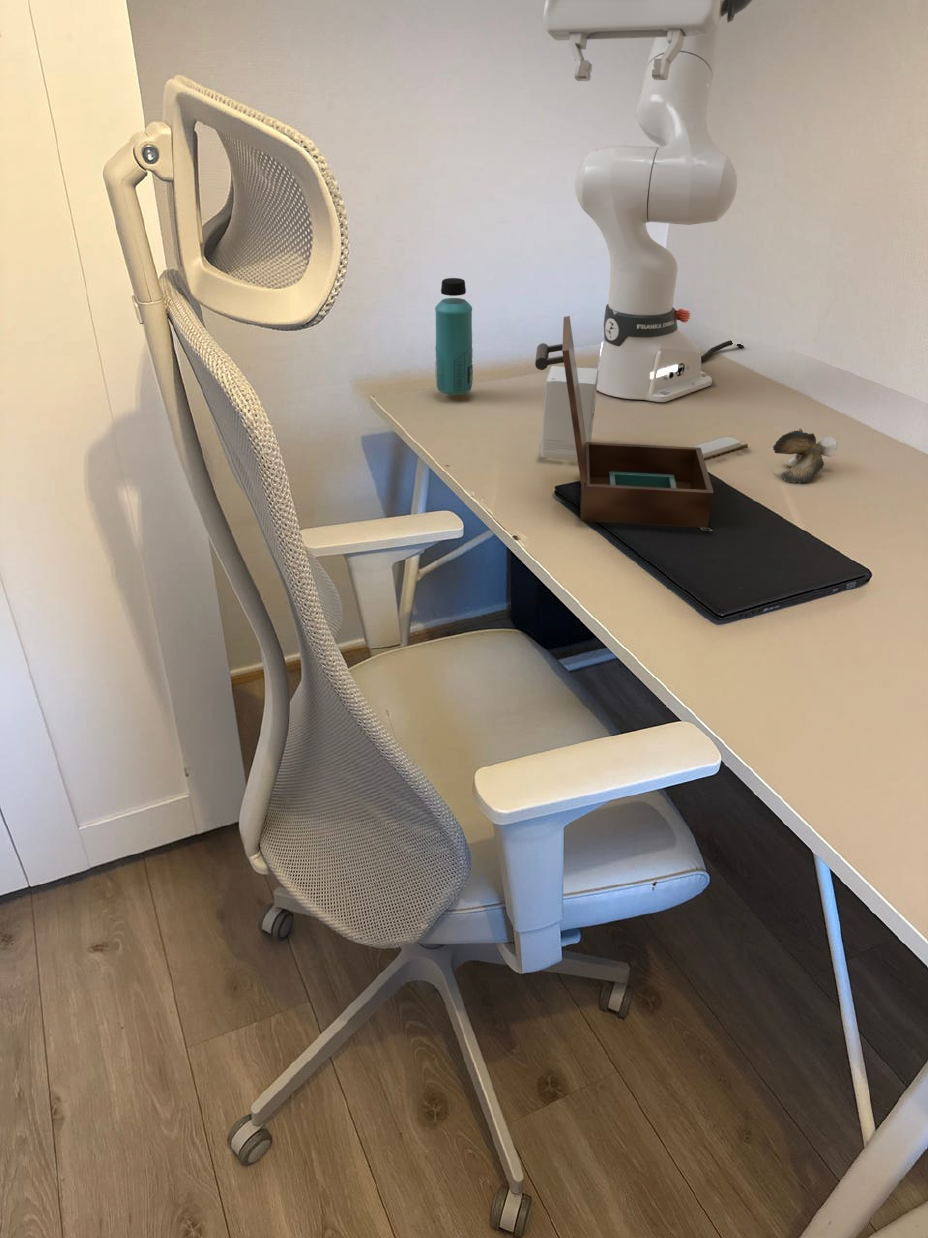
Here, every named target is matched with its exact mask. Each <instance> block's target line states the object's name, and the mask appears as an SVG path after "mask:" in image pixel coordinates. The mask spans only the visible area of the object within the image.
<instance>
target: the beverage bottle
mask: <svg viewBox="0 0 928 1238" xmlns="http://www.w3.org/2000/svg"><path fill="white" fill-rule="evenodd" d="M466 292H467V289H466V281H465V279H463V278H460V277H449V278H444V279H442V281H441V289H440V293H441V295H445V296H449V297H447V298H442V299H441V300H440V301H439V302H438V303H437V304H436V305H435V307H434V311H435V341H434V342H435V349H434V350H435V362H434V363H435V364H434V365H435V375H436V378H435V384H436V389H437V391H438V392H439V393H442V394H447V395H454V396H455V395H463V394H467V393H469V392H470V391H472V387H473V384H474V382H473V380H474V376H473V374H474V373H473V371H474V369H473V368H474V364H473V362H474V360H473V358H474V357H473V354H474V350H473V349H474V347H473V306H472V305H471V304H470V302H469V301H467V300H466V299H465V298H461V297H459V296H463V295H465V294H467V293H466ZM457 296H458V297H457Z"/></svg>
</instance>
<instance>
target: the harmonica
mask: <svg viewBox="0 0 928 1238" xmlns="http://www.w3.org/2000/svg"><path fill="white" fill-rule="evenodd" d="M748 446H749V444H748V443H746V442H745V441H742V440H740V439H737V438H735V437H732V436H725V437H721V438H718V439H717V438H716V439H713V440H711V441H707V442H704V443H701V444H697V445H693V446H692V447H698V448H701V450H702V454H703V457H704V461H705V462H706V460H711V458H713V459H715V458H716V457H720V456H721V455H723V456H724V455H725V454H730V453H731V452H732V453H734V452H735V451H740V450H743V449H749V447H748Z"/></svg>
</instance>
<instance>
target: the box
mask: <svg viewBox="0 0 928 1238" xmlns="http://www.w3.org/2000/svg"><path fill="white" fill-rule="evenodd" d="M586 456H587V482H585V483H581V480H580V479H579V483H581V494H580V493H579V494H580V495H581V496H580V495H579V499H580V500H579V501H580V502H579V503H580V504H579V505H580V507H579V508H580V522H597V523H598V522H599V523H600V522H601V523H616V524H617V523H618V524H631V525H633V524H634V525H651V526H667V527H668V526H669V527H672V526H673V527H685V528H708V527H709V523H710V517H711V511H712V506H713V500H714V495H715V493H714V488H713V485H712V482H711V478H710V475H709V471H708V467H707V465H706V464H707V463H706V460H705V461H704V457H703V454H702V450H701V448H698V447H693V446H676V445H675V446H674V445H656V444H655V445H654V444H637V443H636V444H635V443H633V444H632V443H615V442H595V441H594V442H593V441H591V442H586ZM609 471H612V472H631V473H651V474H670V475H674V478H675V482H676V487H677V488H659V487H640V486H622V485H608V477H609Z"/></svg>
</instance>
